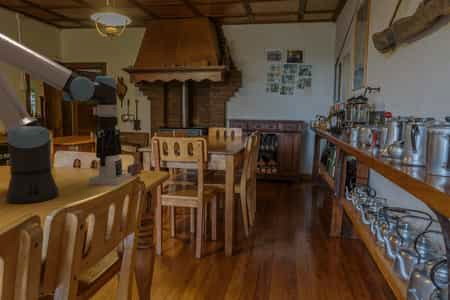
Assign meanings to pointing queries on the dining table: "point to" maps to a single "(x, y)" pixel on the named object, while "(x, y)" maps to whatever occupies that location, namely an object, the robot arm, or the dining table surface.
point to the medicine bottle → (112, 164)
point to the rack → (134, 169)
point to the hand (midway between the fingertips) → (110, 172)
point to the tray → (109, 179)
